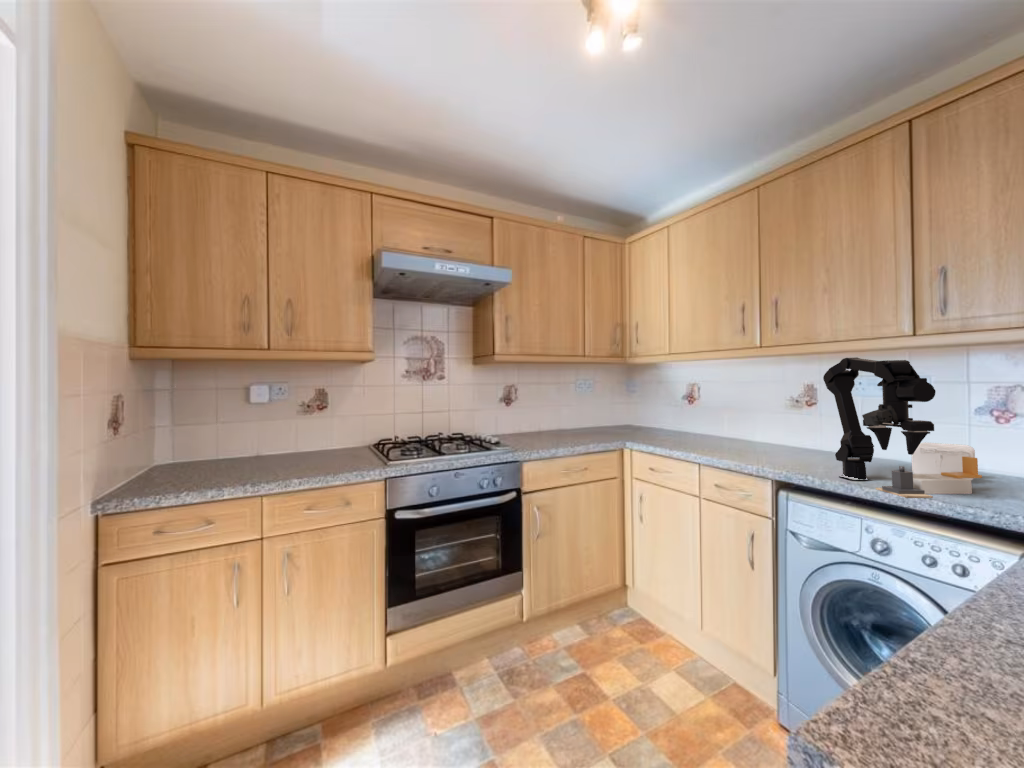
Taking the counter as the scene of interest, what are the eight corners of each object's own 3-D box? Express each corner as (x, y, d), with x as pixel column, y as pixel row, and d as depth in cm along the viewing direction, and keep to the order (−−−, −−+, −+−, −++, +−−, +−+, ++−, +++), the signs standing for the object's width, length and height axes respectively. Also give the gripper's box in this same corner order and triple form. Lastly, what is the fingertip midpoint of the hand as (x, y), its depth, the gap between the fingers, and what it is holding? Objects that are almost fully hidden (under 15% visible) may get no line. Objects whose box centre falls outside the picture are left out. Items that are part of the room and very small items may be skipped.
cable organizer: (980, 480, 140) (978, 445, 140) (974, 484, 134) (972, 448, 134) (918, 473, 152) (917, 441, 153) (911, 477, 146) (909, 444, 147)
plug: (882, 489, 127) (881, 464, 127) (906, 489, 127) (905, 464, 127) (899, 494, 121) (898, 468, 121) (924, 493, 121) (923, 468, 121)
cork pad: (875, 489, 130) (875, 487, 130) (899, 489, 129) (899, 487, 129) (907, 497, 119) (906, 496, 119) (932, 497, 118) (932, 496, 118)
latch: (941, 474, 130) (940, 456, 130) (964, 474, 129) (963, 456, 129) (957, 478, 125) (956, 458, 125) (981, 477, 124) (980, 458, 124)
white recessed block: (892, 486, 133) (892, 474, 133) (938, 486, 132) (938, 473, 132) (921, 494, 123) (921, 480, 123) (971, 493, 122) (971, 480, 122)
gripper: (845, 400, 136) (846, 448, 136) (893, 402, 118) (895, 457, 118) (880, 400, 136) (882, 447, 136) (935, 401, 117) (937, 457, 117)
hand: (897, 452), depth 126 cm, fingers open, 9 cm apart
